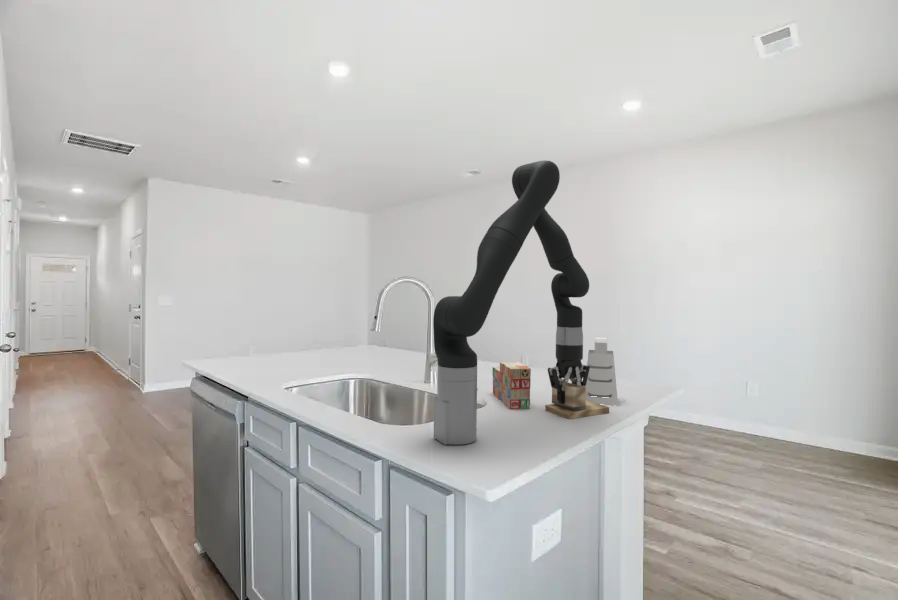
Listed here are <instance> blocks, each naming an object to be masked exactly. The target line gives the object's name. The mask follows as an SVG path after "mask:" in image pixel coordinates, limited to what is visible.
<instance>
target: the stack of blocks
mask: <svg viewBox="0 0 898 600" xmlns="http://www.w3.org/2000/svg"><path fill="white" fill-rule="evenodd" d="M531 372H532V369H531V367H528V365H525V364H524V363H521V362H519V361H500V362H499V366H492V394H493V395H494V397H496V398H497V399H498V400H499V401H501V403H502V404H504V406H505V407H506V408H508V410H530V409H531V407H530V406H531V377H532V376H531Z"/></svg>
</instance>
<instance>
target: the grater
mask: <svg viewBox="0 0 898 600" xmlns="http://www.w3.org/2000/svg"><path fill="white" fill-rule="evenodd" d="M587 352H588V354H587V362H586V366H589V367H590V369H589V374H588V378H587V382H586V386H584V387H586V401H590V402H593V403H596V404H604V405H603V406H607V405H616V406H615V407H619V401H618V400H619V399H618V389H617V378H616V368H615V359H614V358H615V357H614V351H613V350H608V337H600V336H599V337H596V336H595V337H594V349H589V350H588V351H587ZM591 396H597V397H591ZM602 397H609V398H602Z"/></svg>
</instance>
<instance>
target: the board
mask: <svg viewBox="0 0 898 600" xmlns="http://www.w3.org/2000/svg"><path fill="white" fill-rule="evenodd" d="M544 407H545V408H544V411H545V412H549V413H551V414H553V415H555V416H556V415H557V416H559V417H563V418H565V419H568V420H570V419H571V420H573V419H578V418H585V417H590V416H591V415H592V416H598V414H599V415H605V414H609V413H610V406H607V405H600V404H596V403H593V402H590V401H586V408H585V409H579V410H571V409H568V408H565V407H562V406H559V405H556V404H553V403H551V404H545V405H544ZM592 416H591V417H592Z"/></svg>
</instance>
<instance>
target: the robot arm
mask: <svg viewBox="0 0 898 600" xmlns="http://www.w3.org/2000/svg"><path fill="white" fill-rule="evenodd" d="M560 174H561V173H560V169H559V167H558V166H557V164H556V163H555V162H553V161H551V160H539V161H538V160H537V161H533V162H530V163H525V164H522V165H520V166H518V167H516V168H515V170H514V171H513V173H512V177H511V184H512V189H513V191H514V193H515V196H516V198H517V199H518V200H517V201H515V203H514V204H512V205H511V206H510V207H509V208H507V209H506V211H504V212H503V213H502V214H501V215H499V216H498V217H497V218H496V219H495V220H494V221H493V222H492V223H491V225H490V227H488V229H487V231H486V233H485V234H484V236H483V238H482V240H481V241H480V244H479V246H478V249H477V253H476V269H475V273H474V276H473V278H472V280H471V282H470V283H469V285H468V287H467V288H466V290H465V291H464V292H463V294H462V295H458V296H457V295H451V296H445V297H442V298H441V299H440V300H439V301H438V302H437V304H436V305H435V307H434V312H433V316H432V317H433V318H432V319H433V321H432V322H433V323H432V325H433V329H432V330H433V348H434V352H435V356H436V359H437V384H436V385H437V389H436V390H437V394H436V396H435V397H434V398H433V438H434V439H436V440H437V441H438V442H440V443H442V444H443V445H444V446H448V445H456V446H457V445H468V444H472V443H474V442H476V440H477V431H478V429H477V424H478V423H477V422H478V418H477V416H478V412H477V411H478V409H477V408H478V354H477V353H476V352H475V350H473V349H472V347H470V344H469V343H468V337H469V338H470V337H473V336H475V335H476V334H477V333H478V332H479V331H480V330H481V329H482V327H483V326H484V324H485V322H486V320H487V317H488V315H489V312H490V310H491V308H492V305H493V304H494V300H495V298H496V295H497V293H498V292H499V289H500V287H501V285H502V283H503V281H504V280H505V278H506V276H507V274H508V272H509V270H510V268H511V267H512V264H514V262H515V260H516V258H517V257H518V254H519V252H520V250H521V249H522V247H523V245H524V243H525V240H526V239H527V237H528V235H529V234H530V231H531V230H532V229H533V228H534V230H535V233H536V234H537V235H538V238H539V240H540V243H541V245H542V247H543V248H542V249H543V251H544V254H545V257H546V258H547V262H548V265H549V267H550V268H551V269H552V270H554V271H558V272H560V273H557V274H555V275H554V276H553V278H552V280H551V284H550V289H551V294H552V299H553V301H554V307H555V310H556V330H555V359H556V364H555V366H553V367H548V368H547V374H548V378H549V383H550V387H551V389H552V388H555V389H557V400H558V402H559V403H561V404H565V391H564V390H565V386H566V384H567V383H569V380H570V383H572V384H576V385H580V386H586V382H587V378H588V374H589V369H590V367H589V366H587V364H586V365H585V364H583V363H582V360H583V358H584V348H583V347H584V333H583V309H582V308H581V307H580V306H577V305H573V304H572V303H571V300H570V298H582V297H585V296H586V295H588V293H589V290H590V281H589V277H588V275H587V273H586V272H585V270H584V268H582V266H581V264H580V263H579V261H578V260H577V258H576V257H575V255H574V252H573V250H572V247H571V244H570V240H569V238H568V236H567V234H566V233H565V230H563V228H562V227H561V226H560V225H559V224H558V222H557V221H555V219H554V218H553V216H552V215H550V214H549V213H548V211H547V210H546V206H547V205H548V203H550V201H551V200H552V198H553V196H554V195H555V194H556V191H557V190H558V188H559V184H560V180H561V179H560V178H561V175H560ZM561 384H562V385H561Z"/></svg>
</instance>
